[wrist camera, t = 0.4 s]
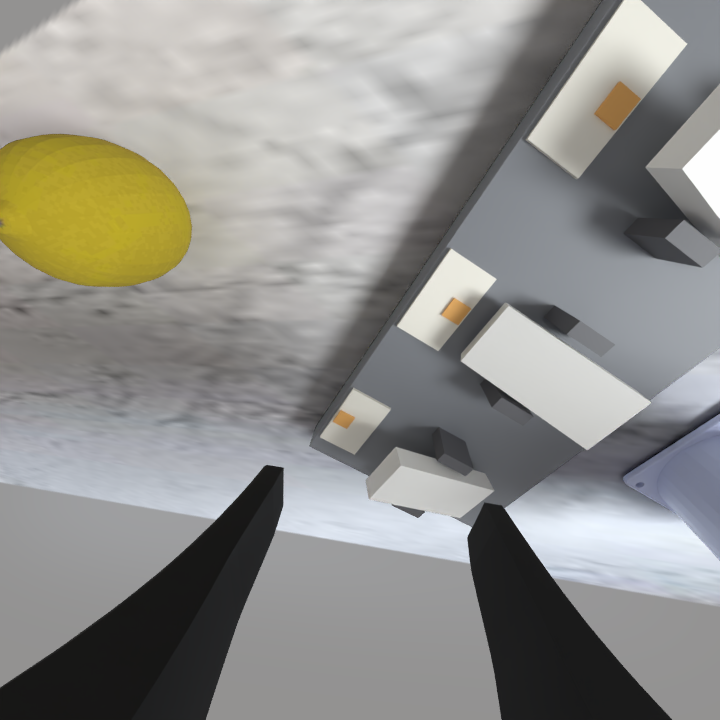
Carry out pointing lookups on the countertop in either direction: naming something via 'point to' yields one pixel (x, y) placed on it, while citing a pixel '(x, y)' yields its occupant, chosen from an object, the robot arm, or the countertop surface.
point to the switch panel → (554, 260)
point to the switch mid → (551, 378)
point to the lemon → (90, 211)
